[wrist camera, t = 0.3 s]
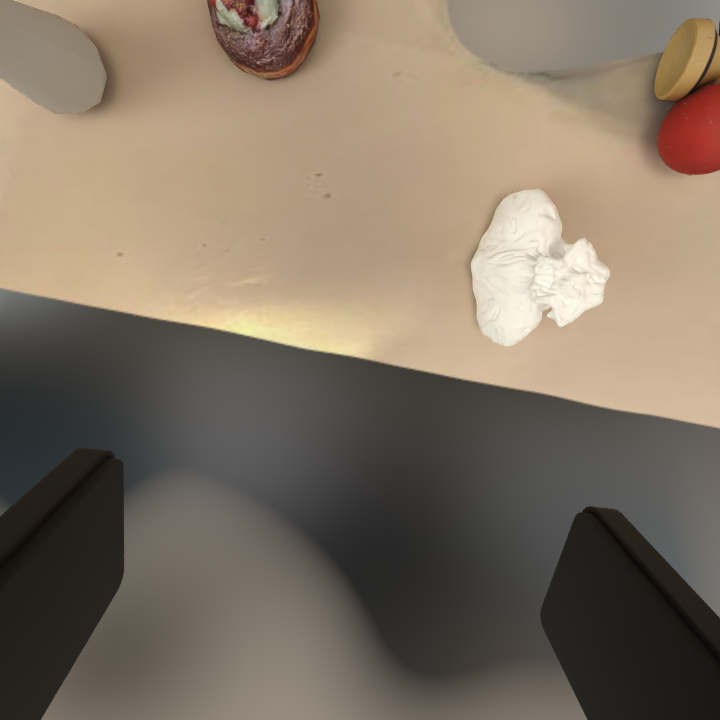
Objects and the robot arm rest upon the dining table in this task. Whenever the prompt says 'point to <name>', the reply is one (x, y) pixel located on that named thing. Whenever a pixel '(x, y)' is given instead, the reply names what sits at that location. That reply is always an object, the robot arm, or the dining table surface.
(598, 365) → the dining table surface
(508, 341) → the bust
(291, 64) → the pastry
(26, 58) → the salt shaker
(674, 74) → the kendama
